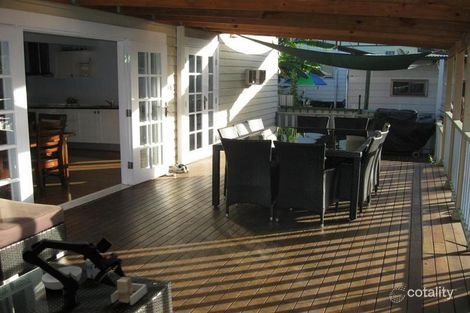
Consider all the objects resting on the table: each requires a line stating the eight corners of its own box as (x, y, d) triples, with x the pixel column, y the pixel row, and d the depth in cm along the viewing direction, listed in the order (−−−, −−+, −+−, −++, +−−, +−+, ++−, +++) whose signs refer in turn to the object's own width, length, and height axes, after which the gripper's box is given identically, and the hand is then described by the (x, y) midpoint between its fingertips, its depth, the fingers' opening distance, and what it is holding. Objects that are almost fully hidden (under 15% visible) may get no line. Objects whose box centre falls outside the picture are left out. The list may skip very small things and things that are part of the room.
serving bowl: (89, 276, 266) (87, 265, 265) (73, 293, 246) (71, 281, 245) (54, 277, 269) (52, 266, 267) (35, 295, 248) (33, 283, 247)
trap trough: (132, 305, 227) (131, 297, 226) (111, 302, 232) (110, 295, 231) (147, 291, 240) (146, 284, 239) (127, 289, 244) (126, 282, 244)
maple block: (127, 303, 230) (125, 282, 228) (119, 302, 232) (116, 281, 230) (133, 298, 234) (130, 277, 232) (125, 297, 236) (122, 276, 234)
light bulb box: (87, 278, 264) (84, 260, 262) (96, 273, 270) (93, 255, 268) (101, 280, 259) (99, 262, 257) (110, 275, 265) (107, 257, 263)
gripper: (95, 257, 222) (118, 280, 221) (116, 242, 240) (138, 264, 238) (83, 272, 226) (106, 294, 225) (105, 256, 244) (126, 277, 242)
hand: (120, 282), depth 232 cm, fingers open, 9 cm apart
